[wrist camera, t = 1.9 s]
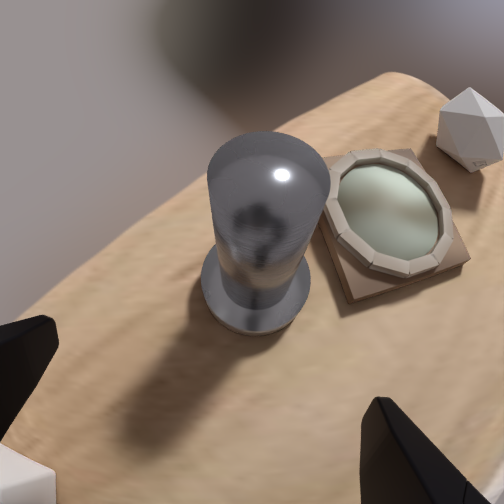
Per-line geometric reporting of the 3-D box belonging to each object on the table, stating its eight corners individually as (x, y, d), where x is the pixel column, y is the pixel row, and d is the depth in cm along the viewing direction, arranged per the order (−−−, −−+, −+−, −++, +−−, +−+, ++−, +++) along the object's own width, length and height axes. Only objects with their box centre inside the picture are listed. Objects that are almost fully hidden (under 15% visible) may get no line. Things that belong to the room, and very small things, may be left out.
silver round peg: (318, 320, 21) (395, 239, 10) (216, 347, 20) (187, 289, 9) (288, 231, 24) (321, 104, 13) (195, 251, 23) (162, 127, 12)
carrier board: (463, 264, 23) (476, 254, 21) (348, 304, 22) (358, 295, 20) (406, 156, 28) (414, 143, 26) (296, 170, 26) (299, 154, 24)
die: (449, 192, 27) (528, 163, 20) (412, 114, 26) (492, 78, 19) (452, 170, 33) (516, 146, 25) (422, 107, 31) (485, 78, 24)
